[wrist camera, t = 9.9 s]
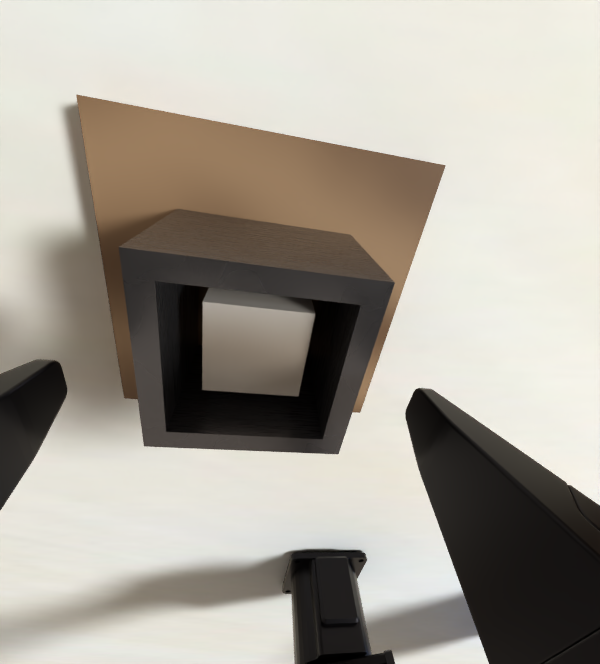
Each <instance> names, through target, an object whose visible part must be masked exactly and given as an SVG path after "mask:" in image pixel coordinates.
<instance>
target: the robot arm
mask: <svg viewBox="0 0 600 664" xmlns="http://www.w3.org/2000/svg"><path fill="white" fill-rule="evenodd" d="M66 395H67V385H66V382H65V378H64V374H63V371H62V367H61V364H60V363H59V362H57V361H55V360H42V359H39V360H34V361H32V362H29V363H27V364H24V365H22V366H19V367H17V368H14V369H12V370H9V371H7V372H4V373H2V374H0V510H1V509H2V507H3V506H4V504H5V503H6V501H7V500H8V498H9V496H10V495H11V493H12V492H13V490H14V489H15V487H16V486H17V484H18V483H19V481H20V480H21V478H22V477H23V475H24V473H25V472H26V470H27V469H28V467H29V466H30V464H31V463H32V461H33V459H34V458H35V456H36V454H37V452H38V451H39V449H40V447H41V445H42V443H43V441H44V439H45V437H46V435H47V433H48V431H49V429H50V427H51V425H52V423H53V421H54V419H55V418H56V416H57V414H58V412H59V410H60V408H61V406H62V404H63V402H64V400H65V398H66ZM406 421H407V425H408V429H409V433H410V437H411V441H412V445H413V449H414V453H415V457H416V461H417V464H418V468H419V471H420V474H421V477H422V480H423V483H424V485H425V488H426V491H427V494H428V496H429V499H430V502H431V505H432V507H433V510H434V513H435V516H436V518H437V521H438V524H439V527H440V529H441V532H442V535H443V538H444V541H445V543H446V546H447V549H448V552H449V554H450V557H451V560H452V563H453V565H454V568H455V571H456V574H457V576H458V579H459V582H460V585H461V587H462V590H463V593H464V596H465V598H466V601H467V604H468V607H469V609H470V612H471V615H472V618H473V620H474V623H475V626H476V629H477V631H478V634H479V637H480V640H481V642H482V645H483V648H484V651H485V653H486V656H487V659H488V662H489V664H600V505H598V504H597V503H595V502H594V501H592V500H591V499H589V498H588V497H587V496H585V495H584V494H582V493H581V492H579V491H578V490H576V489H575V488H574V487H572V486H571V485H567V483H566V482H565V481H563V480H562V479H561V478H559V477H558V476H556V475H555V474H553V473H552V472H550V471H549V470H548V469H546V468H545V467H543V466H542V465H540V464H539V463H537V462H536V461H535V460H533V459H532V458H530V457H529V456H527V455H526V454H524V453H523V452H522V451H520V450H519V449H517V448H516V447H514V446H513V445H511V444H510V443H509V442H507V441H506V440H504V439H503V438H501V437H500V436H499V435H497V434H496V433H494V432H493V431H491V430H490V429H488V428H487V427H486V426H484V425H483V424H481V423H480V422H478V421H477V420H475V419H474V418H473V417H471V416H470V415H468V414H467V413H465V412H464V411H463V410H461V409H460V408H458V407H457V406H455V405H454V404H452V403H451V402H450V401H448V400H447V399H445V398H444V397H442V396H441V395H439V394H438V393H437V392H435V391H434V390H432V389H425V388H418V389H416V390H415V391H414V393H413V395H412V397H411V400H410V402H409V404H408V406H407V409H406ZM366 561H367V558H366V554H365V553H362V552H351V553H295V554H292V555H291V558H290V561H289V565H288V568H287V572H286V575H285V579H284V582H283V586H282V592H283V593H284V594H292V615H293V637H294V659H295V664H395V662H394V658H393V654H392V651H391V650H388V651H384V653H380V654H374V655H372V653H371V648H370V643H369V638H368V633H367V628H366V623H365V618H364V613H363V608H362V603H361V598H360V593H359V588H358V583H357V578H358V576H359V574H360V572H361V570H362V568H363V567H364V565H365V563H366Z"/></svg>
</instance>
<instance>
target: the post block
mask: <svg viewBox="0 0 600 664" xmlns="http://www.w3.org/2000/svg"><path fill="white" fill-rule="evenodd" d="M76 96H77V102H78V108H79V115H80V121H81V127H82V134H83V140H84V146H85V153H86V159H87V165H88V172H89V178H90V184H91V190H92V197H93V203H94V209H95V216H96V222H97V228H98V235H99V241H100V247H101V254H102V260H103V266H104V273H105V279H106V285H107V292H108V298H109V304H110V311H111V317H112V323H113V330H114V336H115V342H116V349H117V355H118V361H119V367H120V374H121V380H122V386H123V393H124V398H130V399H138V395H137V387H136V379H135V371H134V363H133V356H132V348H131V340H130V332H129V324H128V316H127V309H126V301H125V293H124V285H123V277H122V269H121V262H120V254H119V246H121V245H122V244H124V243H126V242H127V241H129V240H130V239H132V238H133V237H135V236H136V235H138V234H139V233H141V232H143V231H144V230H146V229H147V228H149V227H150V226H152V225H153V224H155V223H156V222H158V221H160V220H161V219H163V218H164V217H166V216H167V215H169V214H170V213H172V212H173V211H175V210H176V209H184V210H190V211H197V212H204V213H210V214H217V215H224V216H230V217H237V218H243V219H250V220H257V221H263V222H270V223H277V224H283V225H290V226H297V227H303V228H310V229H317V230H323V231H330V232H337V233H343V234H350V235H352V236H353V238H354V239H355V240H356V241H357V242H358V243H359V244H360V245H361V246H362V247H363V248H364V250H365V251H366V252H367V253H368V254H369V255H370V256H371V257H372V258H373V259H374V260H375V261H376V263H377V264H378V265H379V266H380V267H381V268H382V269H383V270H384V271H385V272H386V273H387V275H388V276H389V277H390V278H391V279H392V280H393V281H394V282H395V284H394V287H393V290H392V293H391V296H390V299H389V302H388V306H387V309H386V312H385V315H384V318H383V321H382V324H381V327H380V330H379V333H378V336H377V339H376V342H375V345H374V348H373V351H372V354H371V357H370V360H369V363H368V366H367V369H366V372H365V375H364V378H363V381H362V384H361V387H360V390H359V393H358V396H357V399H356V402H355V405H354V408H353V411H352V412H359V413H360V411H361V408H362V405H363V403H364V400H365V397H366V394H367V391H368V388H369V385H370V382H371V379H372V377H373V374H374V371H375V368H376V365H377V362H378V359H379V356H380V353H381V351H382V348H383V345H384V342H385V339H386V336H387V333H388V330H389V327H390V325H391V322H392V319H393V316H394V313H395V310H396V307H397V304H398V301H399V298H400V296H401V293H402V290H403V287H404V284H405V281H406V278H407V275H408V272H409V270H410V267H411V264H412V261H413V258H414V255H415V252H416V249H417V246H418V244H419V241H420V238H421V235H422V232H423V229H424V226H425V223H426V220H427V218H428V215H429V212H430V209H431V206H432V203H433V200H434V197H435V194H436V192H437V189H438V186H439V183H440V180H441V177H442V174H443V171H444V168H445V166H446V165H440V164H435V163H430V162H425V161H420V160H414V159H409V158H404V157H399V156H394V155H388V154H383V153H378V152H373V151H367V150H362V149H357V148H352V147H347V146H341V145H336V144H331V143H326V142H321V141H315V140H310V139H305V138H300V137H294V136H289V135H284V134H279V133H274V132H268V131H263V130H258V129H253V128H248V127H242V126H237V125H232V124H227V123H221V122H216V121H211V120H206V119H201V118H195V117H190V116H185V115H180V114H175V113H169V112H164V111H159V110H154V109H149V108H143V107H138V106H133V105H128V104H122V103H117V102H112V101H107V100H102V99H96V98H91V97H86V96H81V95H76ZM318 303H319V300H314V299H305V298H296V297H288V296H279V295H270V294H262V293H253V292H245V291H236V290H227V289H219V288H210V287H201V286H198V345H202V390H210V391H225V392H240V393H255V394H270V395H285V396H299V391H300V386H301V381H302V376H303V372H304V367H305V362H306V357H307V354H308V351H309V346H310V341H311V336H312V331H313V327H314V322H315V317H316V312H317V307H318Z"/></svg>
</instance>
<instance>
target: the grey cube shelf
mask: <svg viewBox="0 0 600 664" xmlns="http://www.w3.org/2000/svg"><path fill="white" fill-rule="evenodd" d="M119 254H120V262H121V269H122V277H123V285H124V293H125V301H126V309H127V316H128V324H129V332H130V340H131V348H132V356H133V363H134V371H135V379H136V387H137V395H138V403H139V410H140V418H141V426H142V434H143V442H144V446H151V447H175V448H200V449H224V450H248V451H273V452H297V453H322V454H339V451H340V448H341V445H342V442H343V439H344V436H345V433H346V429H347V426H348V423H349V420H350V417H351V414H352V411H353V408H354V405H355V402H356V399H357V396H358V393H359V390H360V387H361V384H362V381H363V378H364V375H365V372H366V369H367V366H368V363H369V360H370V357H371V354H372V351H373V348H374V345H375V342H376V339H377V336H378V333H379V330H380V327H381V324H382V321H383V318H384V315H385V312H386V309H387V306H388V302H389V299H390V296H391V293H392V290H393V287H394V284H395V282H394V281H393V280H392V279H391V278H390V277H389V276H388V275H387V273H386V272H385V271H384V270H383V269H382V268H381V267H380V266H379V265H378V264H377V263H376V261H375V260H374V259H373V258H372V257H371V256H370V255H369V254H368V253H367V252H366V251H365V250H364V248H363V247H362V246H361V245H360V244H359V243H358V242H357V241H356V240H355V239H354V238H353V236H352V235H350V234H343V233H337V232H330V231H323V230H317V229H310V228H303V227H297V226H290V225H283V224H277V223H270V222H263V221H257V220H250V219H243V218H237V217H230V216H224V215H217V214H210V213H204V212H197V211H190V210H184V209H176V210H175V211H173V212H172V213H170V214H169V215H167V216H166V217H164V218H163V219H161V220H160V221H158V222H156V223H155V224H153V225H152V226H150V227H149V228H147V229H146V230H144V231H143V232H141V233H139V234H138V235H136V236H135V237H133V238H132V239H130V240H129V241H127V242H126V243H124V244H122V245H121V246H119ZM198 286H201V287H210V288H219V289H227V290H236V291H245V292H253V293H262V294H270V295H279V296H288V297H296V298H305V299H314V300H319V303H318V307H317V312H316V317H315V322H314V327H313V331H312V336H311V341H310V346H309V351H308V354H307V357H306V362H305V367H304V372H303V376H302V381H301V386H300V391H299V396H285V395H270V394H255V393H240V392H225V391H210V390H202V345H198Z"/></svg>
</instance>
